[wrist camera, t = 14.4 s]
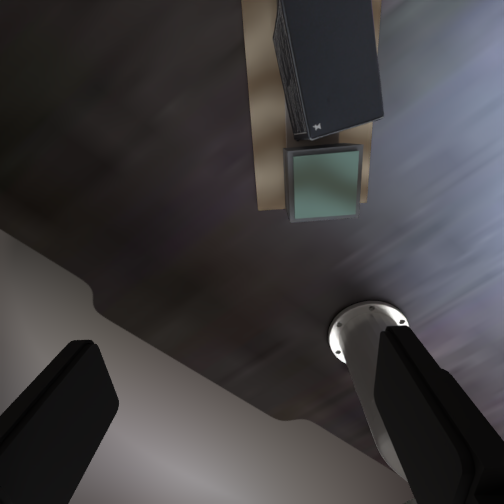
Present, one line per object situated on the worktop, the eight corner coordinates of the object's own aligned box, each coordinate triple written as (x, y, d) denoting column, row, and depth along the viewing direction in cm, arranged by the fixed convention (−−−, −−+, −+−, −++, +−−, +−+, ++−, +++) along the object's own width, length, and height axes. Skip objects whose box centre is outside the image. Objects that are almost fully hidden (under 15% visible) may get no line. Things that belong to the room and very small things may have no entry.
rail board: (362, 200, 37) (395, 220, 28) (258, 208, 38) (256, 230, 29) (382, -93, 26) (445, -215, 17) (236, -72, 27) (222, -176, 18)
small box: (350, 124, 31) (389, 119, 22) (294, 142, 32) (307, 144, 23) (334, 12, 27) (372, -55, 18) (270, 35, 28) (274, -16, 19)
